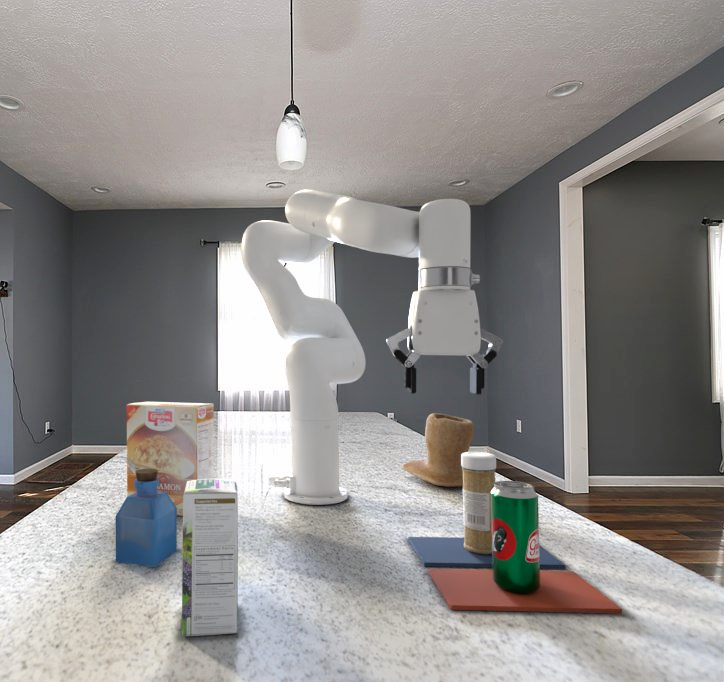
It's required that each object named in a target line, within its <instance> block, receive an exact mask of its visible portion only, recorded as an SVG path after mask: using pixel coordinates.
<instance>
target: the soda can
mask: <svg viewBox="0 0 724 682" xmlns="http://www.w3.org/2000/svg"><path fill="white" fill-rule="evenodd" d="M539 516H540V515H539V495H538V494H537V493H536V490H535V485H533V484H531V483H529V482H524V481H518V480H515V481H514V480H499V481H498V480H497V481H495V483H494V488H493V489H492V491H491V527H492V567H491V570H492V573H493V580H494V582H495V583H496V585H497V586H498V587H499V588H501V589H503V590H505V591H507V592H511V593H515V594H523V595H524V594H532V593H535V592H536V591H537V590H538V589H539V588H540V571H541V568H540V554H539V545H540V527H539V526H540V520H539V519H540V518H539Z"/></svg>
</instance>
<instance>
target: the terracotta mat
mask: <svg viewBox="0 0 724 682" xmlns="http://www.w3.org/2000/svg"><path fill="white" fill-rule="evenodd" d="M427 573H428V574H429V576H430V577H431V580H432V581H433V583H434V584H435V586H436V587H437V589H438V591H439V592H440V594H441V595H442V597H443V599H444V601H445V602H446V604H447V605H448V607H449V609H450V610H451V611H487V612H488V611H489V612H490V611H494V612H495V611H496V612H534V613H535V612H537V613H538V612H539V613H576V614H577V613H578V614H579V613H581V614H582V613H584V614H619V615H620V614H623V608H622V607H621V606H619V605H617V603H615V602H614V601H612V600H611V599H610V598H609V597H607V596H606V595H605V594H603V593H602V592H601V591H599V589H597V588H596V587H594V586H593V585H592V584H590V583H589V582H588V581H587V580H585V579H584V578H583V577H581V575H578V574H577V572H575V571H574V570H540V588H539V589H538V590H537V591H536V592H535V593H532V594H524V595H523V594H515V593H511V592H507V591H505V590H503V589H501V588H499V587H498V586H497V585H496V583H495V582H494V580H493V573H492V569H465V568H464V569H463V568H462V569H461V568H428V569H427Z"/></svg>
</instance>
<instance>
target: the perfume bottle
mask: <svg viewBox="0 0 724 682" xmlns="http://www.w3.org/2000/svg"><path fill="white" fill-rule="evenodd" d="M157 472H158V470H157V469H150V468H149V469H139V470H136V471H135V473H136V477H137V479H135V480H134V487H135V488H136V493H134V494H132V495H130V496H128V497H127V496H126V497H125V499H124V501H123V502H122V504H121V506H120V508H119V510H118V511H117V513H116V514H115V562H116V563H123V564H129V565H137V566H144V567H151V568H156V567H158V566H159V565H160V564H162V563H163V562H164V561H166V560H167V559H168V558H169V557H171V556H172V555H174V554H175V553H176V552H178V515H177V508H176V506H175V505H174V503H173V502H172V500H171V499H170V497H169V496H168V494H167V493H166V492H160V491H157V487H158V486H159V478H157Z"/></svg>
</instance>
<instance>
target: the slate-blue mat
mask: <svg viewBox="0 0 724 682" xmlns="http://www.w3.org/2000/svg"><path fill="white" fill-rule="evenodd" d="M407 540H408V542H409V544H410V545H411V547H412V548H413V550H414V552H415V554H416V555H417V557H418V558H419V560H420V561H421V564H422V565H423V566H424V567H443V568H444V567H450V568H451V567H452V568H453V567H454V568H492V554H488V555H485V554H477V553H473V552H471V551H468V550H467V549H466V548H465V547H464V541H465V538H464V537H455V536H454V537H451V536H450V537H449V536H448V537H445V536H441V537H440V536H408V537H407ZM539 554H540V569H566V564H564V563H563V562H562V561H561V560H560V559H558V558H557V557H556V556H554V555H553V554H551V553H550V552H549V551H548V550H546V548H544V547H543V546H542V545H541V544H539Z"/></svg>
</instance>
